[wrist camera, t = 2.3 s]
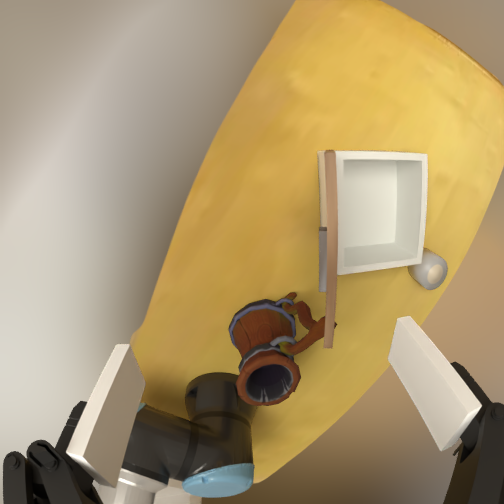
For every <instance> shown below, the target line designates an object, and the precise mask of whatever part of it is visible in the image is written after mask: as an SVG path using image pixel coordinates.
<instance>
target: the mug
mask: <svg viewBox="0 0 504 504" xmlns="http://www.w3.org/2000/svg"><path fill="white" fill-rule="evenodd" d="M296 296H297V294H296V293H290V294H288V295H287V296H286V297H285V298H284V299H280V300H279V301H277V302H274V301H271V300H267V299H264V300H261V301H257V302H254V303H250V304H248V305H246V306H245V307H244V308H242V309H241V310H240V311H238V312H237V313H236V314H235V315H234V317H233V319H232V322H231V323H230V326H229V333H230V336H231V340H232V343H233V345H234V346H235V347H236V348H237V349H238V350H239V352H240V354H241V356H242V360H241V362H240V365H239V371H240V374H239V377H238V379H237V382H236V385H237V391H238V395H239V396H240V398H241V399H242V400H243V401H245V402H246V403H247V404H251V405H255V406H260V405H266V406H269V405H275V404H279V403H281V402H282V401H284V400H285V399H287V398H289V395H290V394H291V393H292V392H295V390H296V388H297V385H298V383H299V381H300V379H301V375H300V371H299V366H298V365H297V364H296V363H294V358H293V356H294V355H296V354H298V353H300V352H302V351H304V350H305V349H307V348H308V347H309V346H310V345H312V344H313V343H314V342H315V341H317V340H319V339H321V338H322V337H324V334H325V316H324V317H322V318H321V319H320V320H319V321H318V322H317V321H315V320H313V319H312V316H311V312H310V308H309V307H308V306H307V304H305V303H304V302H303V301H300V302H298V303H296V304H295V305H294V303H293V301H292V300H293V299H294V298H295V297H296ZM281 303H282V304H281ZM290 305H291V306H290ZM293 314H298V318H299V321H300V323H301V324H302V325H303V326H304V327H305V328H306V329H308V330H309V333H308V334H307V335H306V336H305V337H304V338H302V339H301V340H300V341H298V342H296V340H295V339H294V337H295V335H296V330H295V318H294V316H293ZM336 325H337V324H336V322H335V323H334V329H335V327H336Z"/></svg>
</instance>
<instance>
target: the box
mask: <svg viewBox="0 0 504 504" xmlns="http://www.w3.org/2000/svg"><path fill="white" fill-rule="evenodd" d="M334 151H335V152H336V168H337V196H338V261H337V275H343V274H351V273H359V272H366V271H373V270H380V269H387V268H394V267H401V266H408V265H415V264H421V262H422V254H423V245H424V235H425V224H426V209H427V182H428V161H427V154H422V153H412V152H400V151H372V150H334ZM324 152H325V151H317V155H318V172H319V193H320V225H321V227H327V205H326V178H325V159H324Z"/></svg>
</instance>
